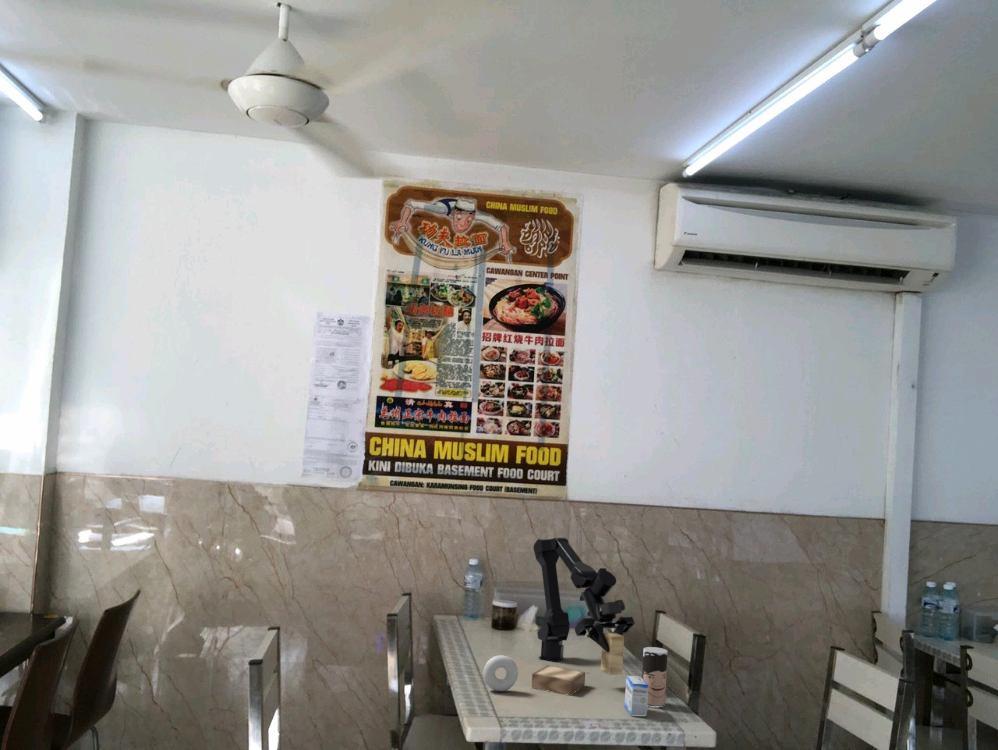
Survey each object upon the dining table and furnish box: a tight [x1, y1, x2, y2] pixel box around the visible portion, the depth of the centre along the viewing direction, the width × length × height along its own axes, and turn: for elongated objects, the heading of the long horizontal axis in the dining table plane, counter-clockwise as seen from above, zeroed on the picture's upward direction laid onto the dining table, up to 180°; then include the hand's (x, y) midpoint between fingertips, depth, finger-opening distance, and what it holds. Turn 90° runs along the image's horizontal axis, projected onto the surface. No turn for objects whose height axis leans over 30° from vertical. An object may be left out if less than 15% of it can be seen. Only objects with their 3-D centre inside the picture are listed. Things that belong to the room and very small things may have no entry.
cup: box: [641, 646, 669, 706], centre depth 243 cm, size 7×7×15 cm
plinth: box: [531, 664, 586, 696], centre depth 254 cm, size 12×12×4 cm
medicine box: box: [623, 675, 648, 716], centre depth 234 cm, size 8×4×9 cm, turn 5°
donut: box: [482, 654, 519, 692], centre depth 246 cm, size 10×4×10 cm, turn 96°
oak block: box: [600, 632, 625, 676], centre depth 257 cm, size 4×4×11 cm
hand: (615, 650), depth 255 cm, fingers closed on oak block, 4 cm apart
